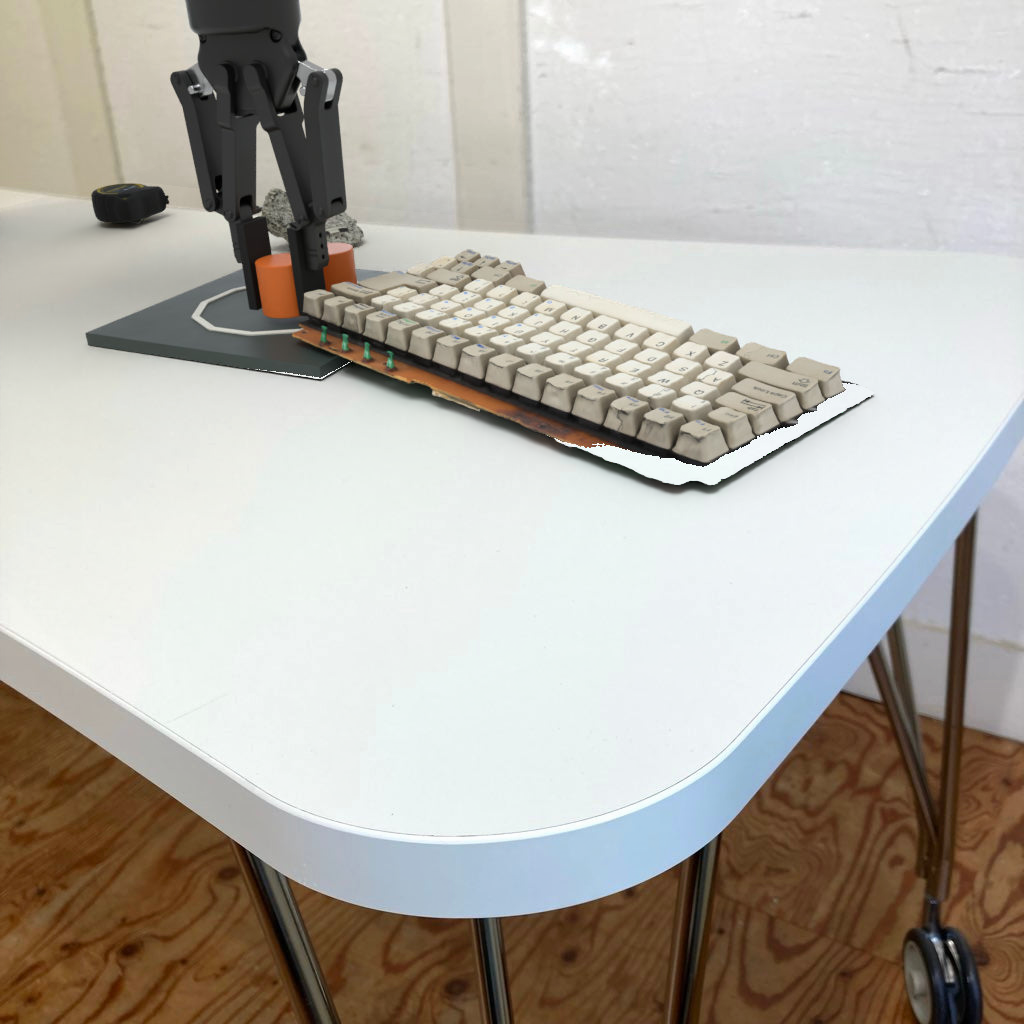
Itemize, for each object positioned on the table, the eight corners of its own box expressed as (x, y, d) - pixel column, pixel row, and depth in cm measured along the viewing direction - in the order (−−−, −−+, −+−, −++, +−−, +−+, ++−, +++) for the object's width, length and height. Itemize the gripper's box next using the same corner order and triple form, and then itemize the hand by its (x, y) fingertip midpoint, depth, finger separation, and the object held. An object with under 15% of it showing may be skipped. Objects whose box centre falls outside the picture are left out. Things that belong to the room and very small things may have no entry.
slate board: (87, 345, 82) (84, 331, 82) (265, 270, 99) (263, 258, 99) (321, 380, 73) (319, 365, 73) (472, 291, 90) (471, 278, 90)
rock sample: (331, 221, 99) (292, 149, 101) (278, 272, 102) (242, 202, 104) (396, 244, 108) (360, 178, 110) (346, 291, 111) (311, 225, 113)
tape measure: (131, 231, 116) (123, 196, 114) (83, 227, 119) (75, 192, 117) (172, 216, 122) (166, 183, 120) (126, 213, 124) (119, 180, 122)
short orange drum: (299, 301, 86) (292, 252, 84) (328, 288, 89) (322, 240, 88) (340, 306, 85) (334, 256, 83) (368, 292, 88) (362, 244, 86)
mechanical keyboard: (875, 395, 67) (882, 343, 65) (696, 505, 55) (700, 445, 53) (461, 281, 90) (459, 241, 88) (273, 341, 78) (267, 296, 76)
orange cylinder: (252, 315, 81) (243, 264, 79) (284, 300, 84) (276, 250, 82) (294, 321, 80) (286, 268, 78) (325, 305, 83) (319, 254, 81)
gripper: (376, -41, 70) (408, 303, 81) (178, -31, 77) (233, 284, 88) (308, -36, 64) (353, 334, 75) (101, -26, 71) (170, 311, 82)
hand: (288, 307), depth 82 cm, fingers closed on orange cylinder, 4 cm apart
